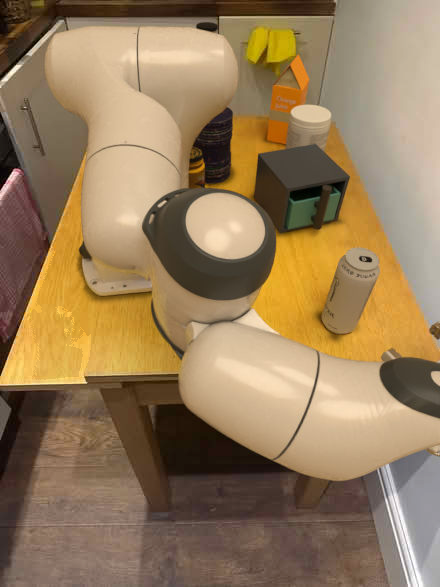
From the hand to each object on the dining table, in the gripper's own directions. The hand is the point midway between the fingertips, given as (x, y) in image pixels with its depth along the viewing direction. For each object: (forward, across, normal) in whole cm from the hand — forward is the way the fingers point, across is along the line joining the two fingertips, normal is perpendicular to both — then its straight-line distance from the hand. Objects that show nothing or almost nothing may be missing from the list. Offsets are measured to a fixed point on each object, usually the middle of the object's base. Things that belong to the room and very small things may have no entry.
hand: (410, 338), depth 56 cm
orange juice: (+71, +32, -10) cm, 78 cm away
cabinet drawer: (+39, +13, -8) cm, 42 cm away
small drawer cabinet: (+42, +13, -9) cm, 45 cm away
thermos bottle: (+78, +11, -10) cm, 79 cm away
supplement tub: (+54, +25, -10) cm, 60 cm away
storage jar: (+64, +4, -10) cm, 65 cm away
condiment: (+56, -6, -10) cm, 57 cm away
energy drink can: (+12, 0, -10) cm, 15 cm away
